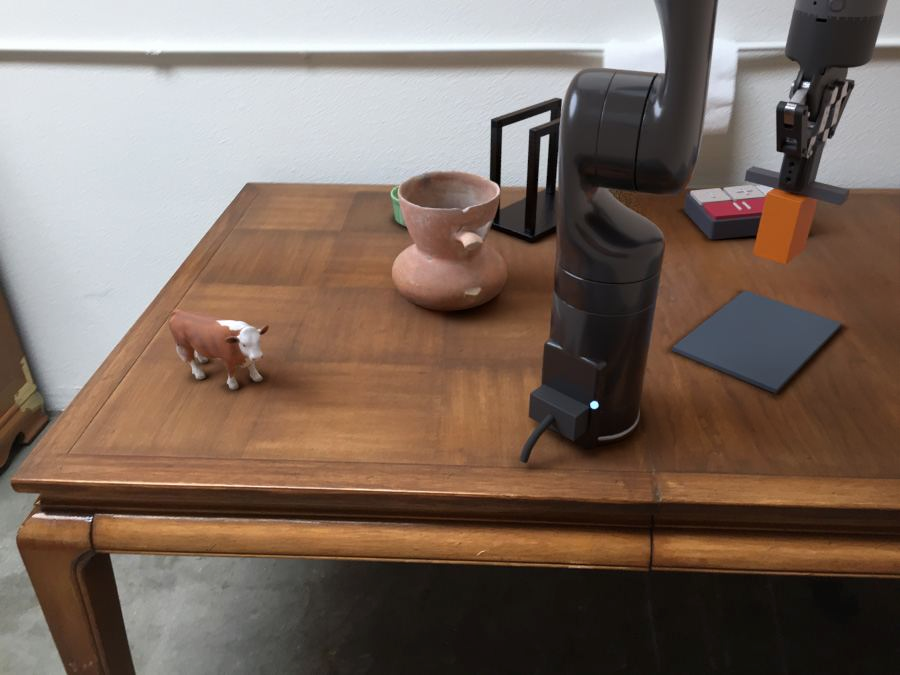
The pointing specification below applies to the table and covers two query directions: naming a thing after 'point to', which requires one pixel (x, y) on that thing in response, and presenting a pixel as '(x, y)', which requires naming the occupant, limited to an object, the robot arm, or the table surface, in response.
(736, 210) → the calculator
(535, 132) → the rack
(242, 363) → the bull figurine
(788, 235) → the orange block with crossbar
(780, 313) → the mat
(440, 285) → the ceramic jug
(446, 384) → the table surface
